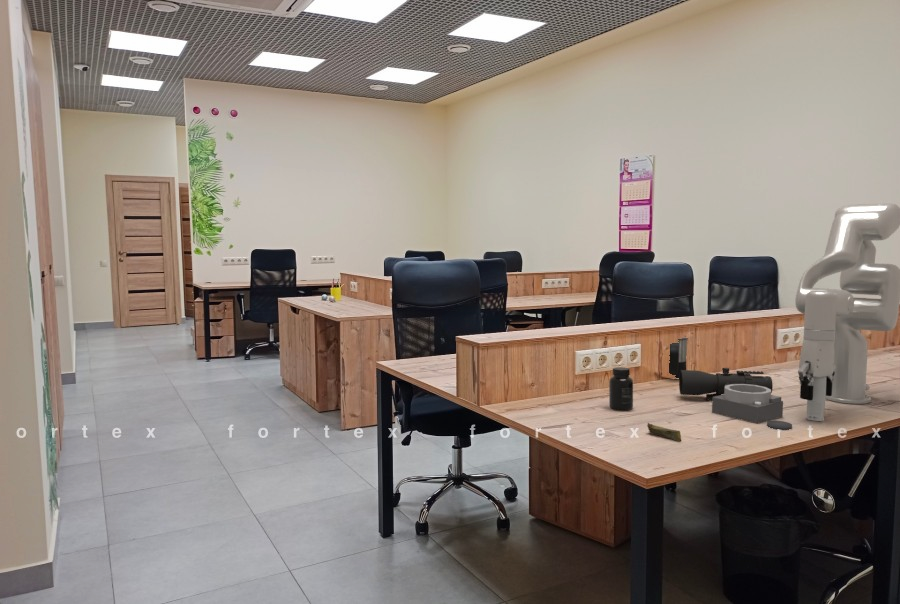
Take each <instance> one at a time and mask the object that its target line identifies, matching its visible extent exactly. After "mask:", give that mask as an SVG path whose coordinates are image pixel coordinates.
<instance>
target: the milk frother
mask: <svg viewBox="0 0 900 604" xmlns="http://www.w3.org/2000/svg"><path fill="white" fill-rule="evenodd" d="M688 339H689V337H688V338H682V339H678V340H679V341H678V342H679V343H672V344H670V355H669V356H670V360H669V361H670V363H669V373H670V374H672V375H676V376H675V377H676V378H679V374H680V370H687V359H686V356H687V354H688V351H687V350H688Z"/></svg>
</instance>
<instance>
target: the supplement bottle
mask: <svg viewBox="0 0 900 604" xmlns="http://www.w3.org/2000/svg"><path fill="white" fill-rule="evenodd" d="M612 375H613V376H611V377H610V379H609V384H608V385H609V393H608V395H609V398H608V399H609V401H608V402H609V403H608V405H609V408H610V409H611V410H613V411H617V412H618V411H621V412H625V411H631V410H632V409H633V408H634V380H633V379H632V378H631V377H630V375H631V374H630V368H629V367H622V366H617V367H613V368H612Z"/></svg>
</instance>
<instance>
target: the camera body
mask: <svg viewBox="0 0 900 604" xmlns="http://www.w3.org/2000/svg"><path fill="white" fill-rule="evenodd" d="M783 412H784V401H783V400H782V396H779V395H774V394H773V395H772V393H771V389H769V388H766V387H763V386H757V385H749V384H731V385H726V386H725V388H724V394H721V395H720V396H715V397H712V401H711V413H712V414H713V413H714V414H716V415H717V414H718V415H720V416H725V417H730V418H734V419H737V418H738V420H741V419H742V420H741V421H745V422H749V423H753V424H760V423H761V424H762V423H764V422H768V421H773V420H775V419H779V418H783Z"/></svg>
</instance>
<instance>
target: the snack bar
mask: <svg viewBox="0 0 900 604" xmlns="http://www.w3.org/2000/svg"><path fill="white" fill-rule="evenodd" d="M646 426H647V430H648V433H649V434H651V435H655V436H659V437H663V438H665V439H666V438H667V439H670V440H674V441H677V442H682V436H681V431H680V430H676V429H673V428H668V427H664V426H660V425H656V424H653V423H650V422H647V424H646Z"/></svg>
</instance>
